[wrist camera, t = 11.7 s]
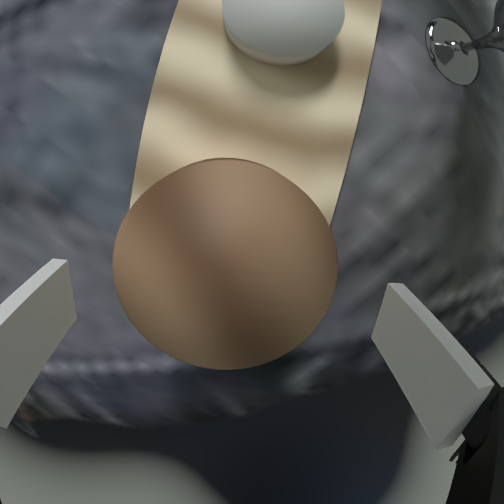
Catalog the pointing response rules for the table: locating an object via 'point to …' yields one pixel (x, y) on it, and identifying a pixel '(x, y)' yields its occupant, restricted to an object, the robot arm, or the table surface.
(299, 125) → the serving board
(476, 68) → the wine glass
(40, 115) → the table surface
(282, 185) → the lid
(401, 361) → the robot arm
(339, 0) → the light grey domed disc
